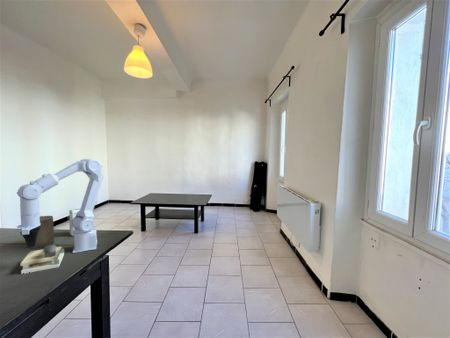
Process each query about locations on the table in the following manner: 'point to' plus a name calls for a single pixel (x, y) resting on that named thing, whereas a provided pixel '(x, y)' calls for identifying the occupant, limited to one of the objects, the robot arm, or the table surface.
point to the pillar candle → (45, 232)
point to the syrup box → (71, 216)
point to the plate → (42, 255)
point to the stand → (43, 265)
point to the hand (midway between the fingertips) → (31, 246)
